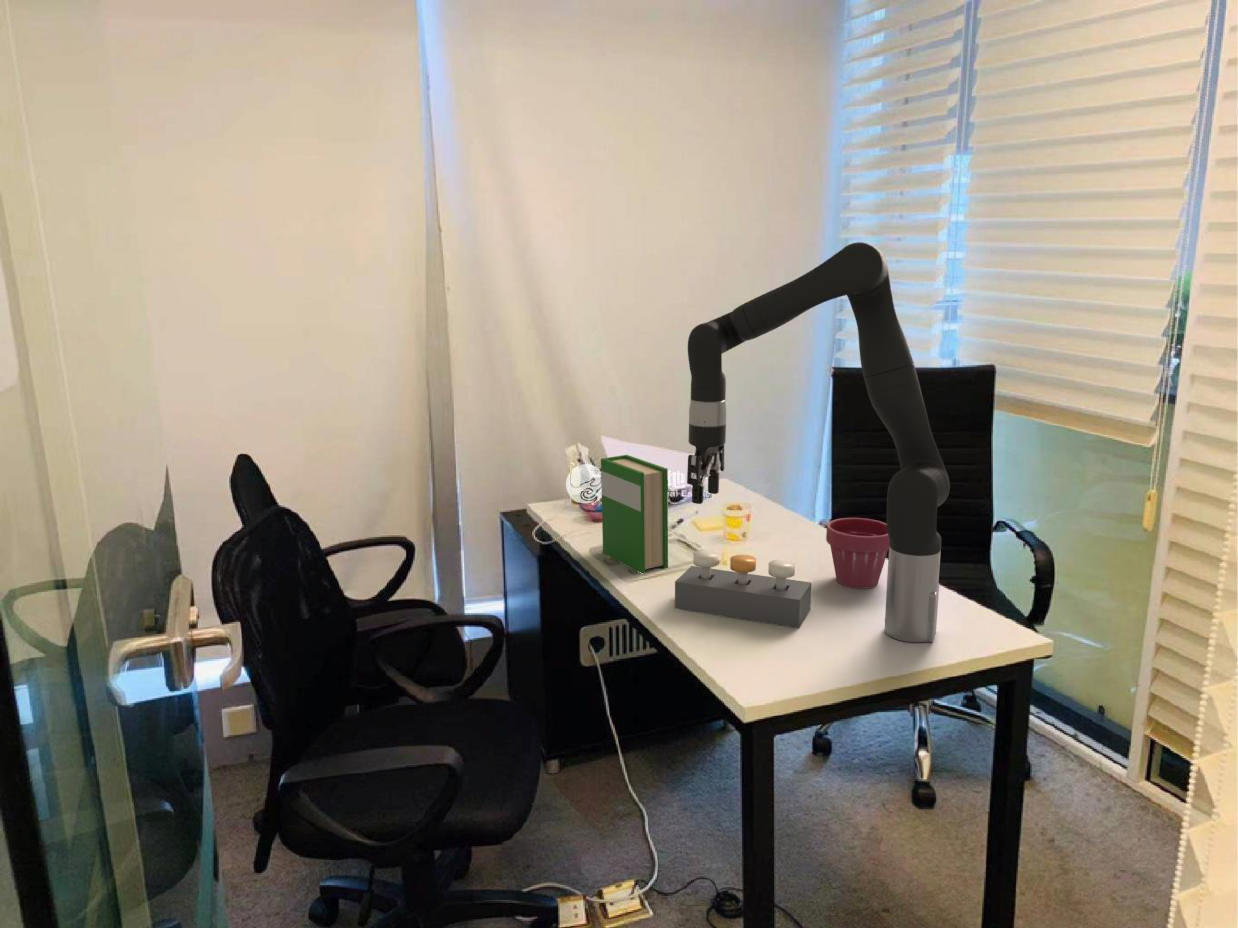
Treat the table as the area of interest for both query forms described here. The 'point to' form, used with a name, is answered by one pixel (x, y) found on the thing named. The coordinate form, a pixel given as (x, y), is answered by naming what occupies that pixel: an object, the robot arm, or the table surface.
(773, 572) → the near knob
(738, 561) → the middle knob
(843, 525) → the plant pot
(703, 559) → the far knob
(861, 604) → the table surface
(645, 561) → the hardback book
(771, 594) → the control block
